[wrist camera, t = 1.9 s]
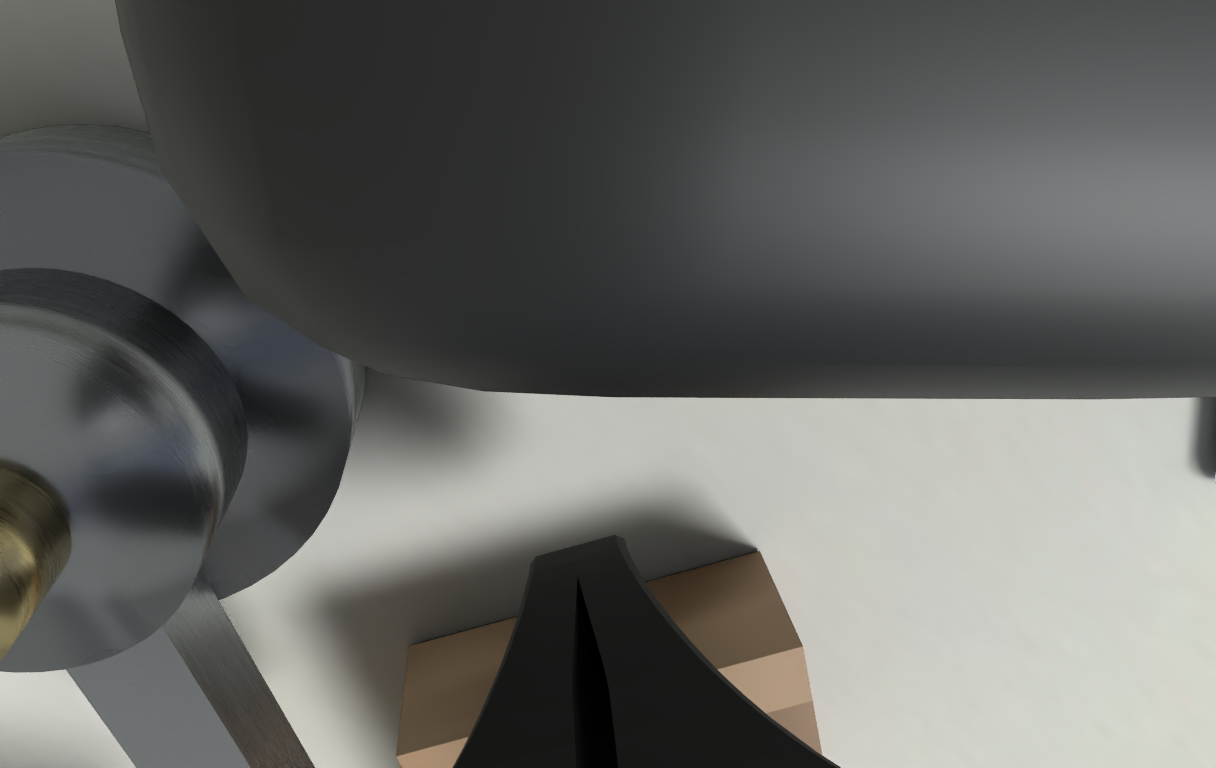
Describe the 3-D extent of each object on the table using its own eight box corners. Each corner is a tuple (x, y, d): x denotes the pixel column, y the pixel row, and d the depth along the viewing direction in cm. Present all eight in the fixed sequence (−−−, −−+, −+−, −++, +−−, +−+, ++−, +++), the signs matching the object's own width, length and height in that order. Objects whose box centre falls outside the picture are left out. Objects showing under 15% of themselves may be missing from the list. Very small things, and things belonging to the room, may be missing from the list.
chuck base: (260, 66, 12) (83, 160, 7) (424, 478, 15) (391, 760, 10) (-232, 198, 12) (-794, 394, 7) (35, 583, 15) (-206, 922, 10)
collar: (157, 227, 11) (83, 289, 9) (437, 796, 16) (430, 917, 14) (-194, 321, 11) (-347, 405, 9) (197, 861, 16) (155, 992, 14)
